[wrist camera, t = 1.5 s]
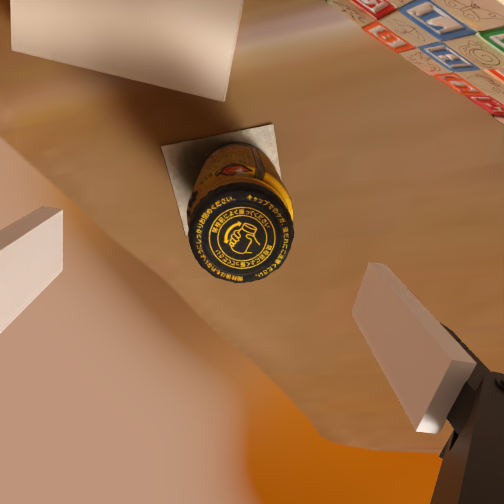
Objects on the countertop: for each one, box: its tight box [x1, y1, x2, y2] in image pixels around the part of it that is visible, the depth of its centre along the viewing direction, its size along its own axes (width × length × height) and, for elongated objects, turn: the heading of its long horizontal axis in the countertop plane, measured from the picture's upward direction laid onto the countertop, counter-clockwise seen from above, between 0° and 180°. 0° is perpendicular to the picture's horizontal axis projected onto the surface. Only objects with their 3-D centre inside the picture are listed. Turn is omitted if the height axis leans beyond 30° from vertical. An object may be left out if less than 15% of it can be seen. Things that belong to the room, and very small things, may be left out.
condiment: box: [161, 124, 294, 283], centre depth 23 cm, size 7×8×12 cm
